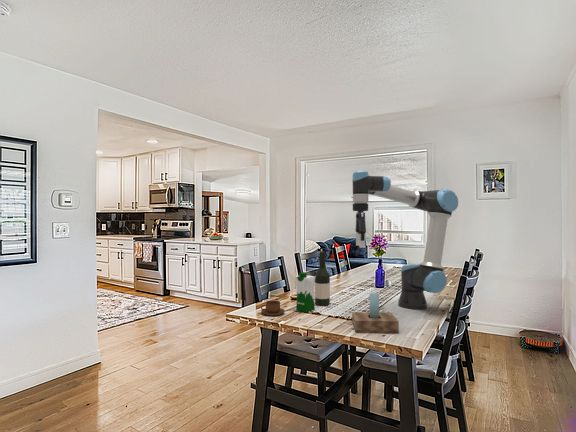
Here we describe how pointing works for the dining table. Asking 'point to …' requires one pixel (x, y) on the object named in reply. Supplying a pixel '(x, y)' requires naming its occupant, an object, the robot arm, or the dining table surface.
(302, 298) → the milk carton
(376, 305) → the pin
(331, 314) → the dining table surface
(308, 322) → the dining table surface
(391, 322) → the block
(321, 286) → the wine bottle
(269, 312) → the cup and saucer
